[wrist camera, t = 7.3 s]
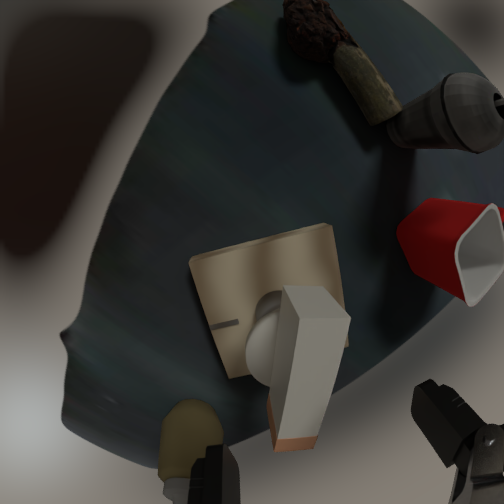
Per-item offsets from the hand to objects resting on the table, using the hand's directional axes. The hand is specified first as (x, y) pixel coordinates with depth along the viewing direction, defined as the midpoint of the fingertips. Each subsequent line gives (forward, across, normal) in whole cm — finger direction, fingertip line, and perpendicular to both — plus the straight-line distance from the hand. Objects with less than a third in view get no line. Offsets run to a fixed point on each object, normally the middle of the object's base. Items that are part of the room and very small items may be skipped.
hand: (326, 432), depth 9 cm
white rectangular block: (+11, 0, +3) cm, 12 cm away
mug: (+21, -22, 0) cm, 30 cm away
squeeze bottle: (+21, +14, +17) cm, 30 cm away
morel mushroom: (+21, -13, -22) cm, 33 cm away
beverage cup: (+21, -19, -13) cm, 31 cm away
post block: (+21, 0, +3) cm, 21 cm away
